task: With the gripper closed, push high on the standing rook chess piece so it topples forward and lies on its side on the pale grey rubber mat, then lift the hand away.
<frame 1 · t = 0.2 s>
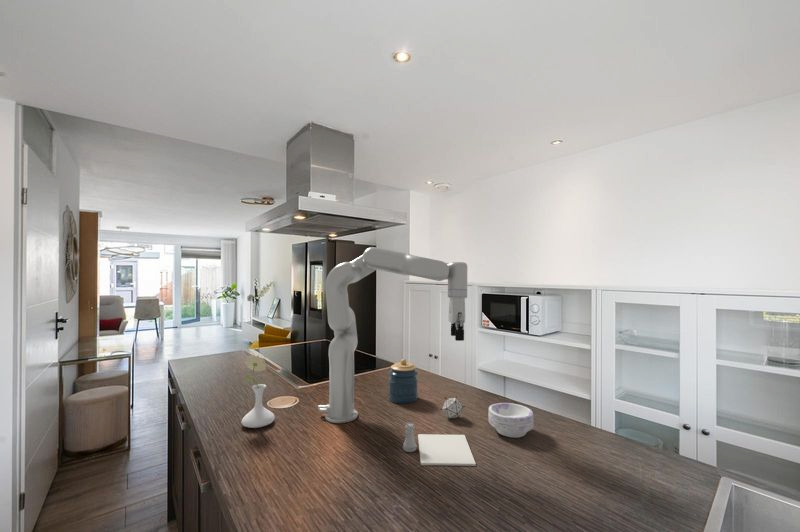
hand: (457, 338, 134), 31 cm above the countertop, tool pointing down, fingers open, 9 cm apart
rook chess piece: (409, 449, 110), on the countertop
canister: (403, 399, 154), on the countertop
flower in vase: (256, 424, 127), on the countertop
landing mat: (444, 449, 110), on the countertop
game die: (452, 418, 133), on the countertop
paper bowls: (510, 432, 122), on the countertop
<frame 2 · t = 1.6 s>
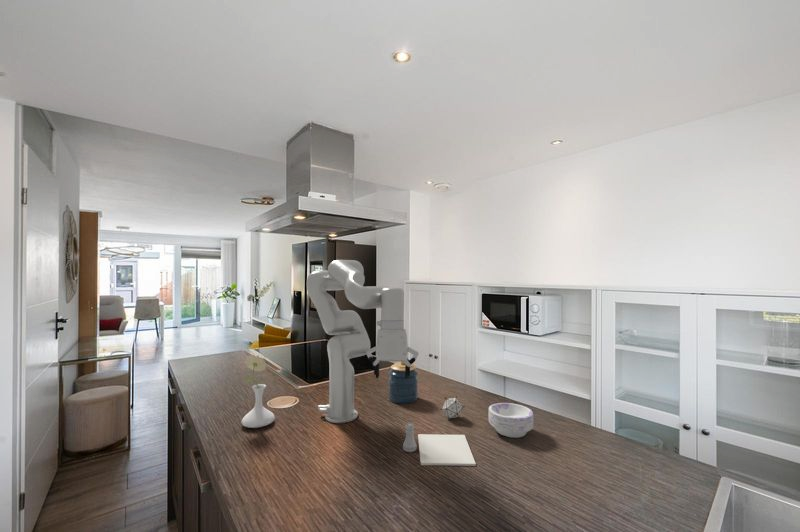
hand: (392, 377, 113), 22 cm above the countertop, tool pointing down, fingers open, 9 cm apart
nothing on the countertop moved.
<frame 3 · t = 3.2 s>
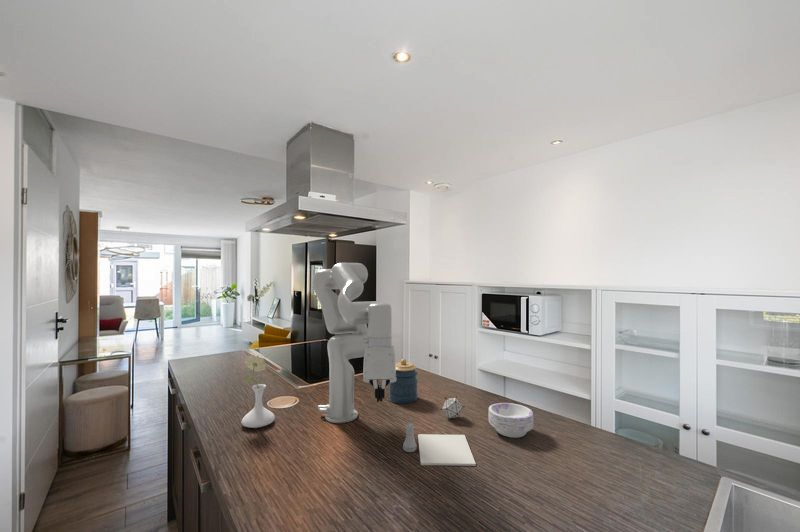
hand: (379, 400, 110), 15 cm above the countertop, tool pointing down, fingers closed
nothing on the countertop moved.
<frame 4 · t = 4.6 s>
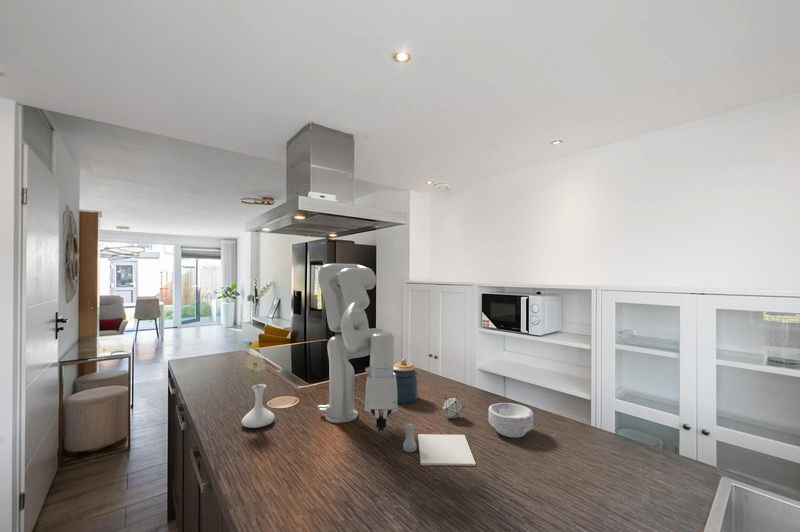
hand: (381, 429, 110), 6 cm above the countertop, tool pointing down, fingers closed
nothing on the countertop moved.
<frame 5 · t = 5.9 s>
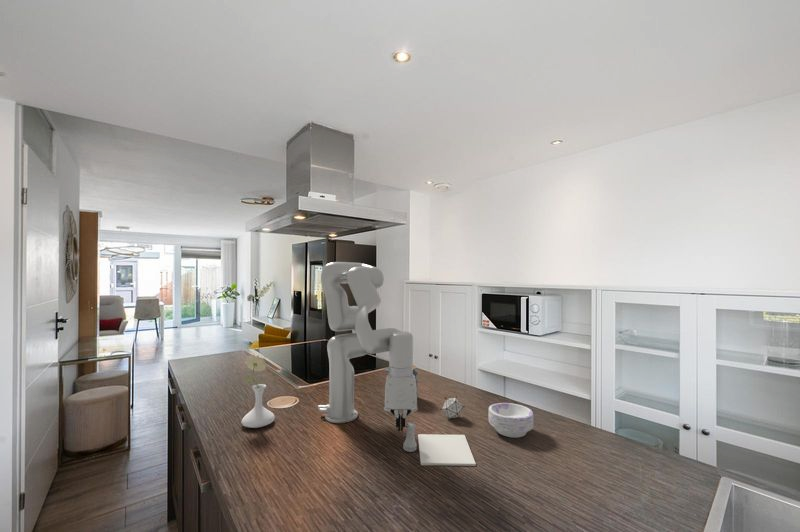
hand: (400, 429, 110), 6 cm above the countertop, tool pointing down, fingers closed
rook chess piece: (409, 449, 110), on the countertop, touching gripper
everything else where it was.
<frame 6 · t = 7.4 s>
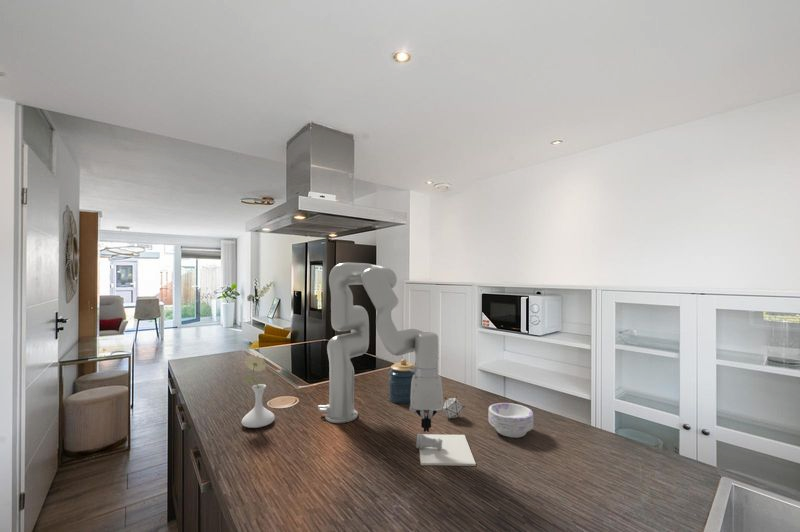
hand: (426, 429, 110), 6 cm above the countertop, tool pointing down, fingers closed
rook chess piece: (416, 440, 109), point 3 cm above the countertop, touching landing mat
everything else where it was.
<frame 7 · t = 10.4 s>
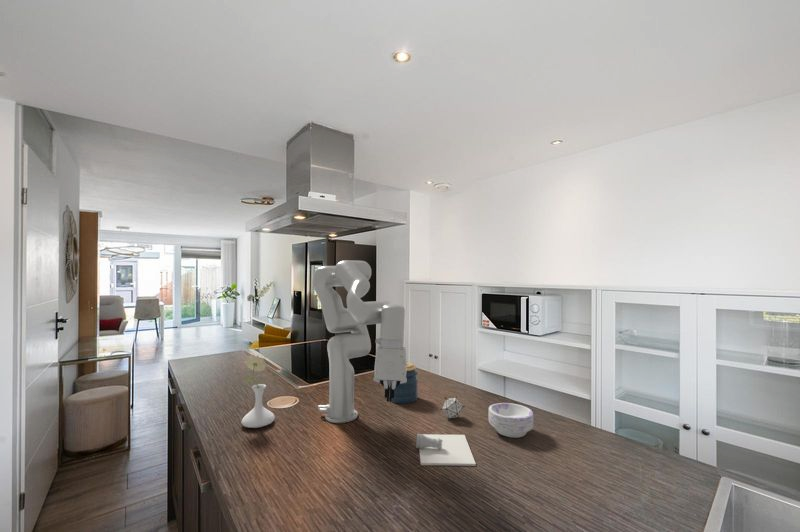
hand: (389, 399, 111), 15 cm above the countertop, tool pointing down, fingers closed
nothing on the countertop moved.
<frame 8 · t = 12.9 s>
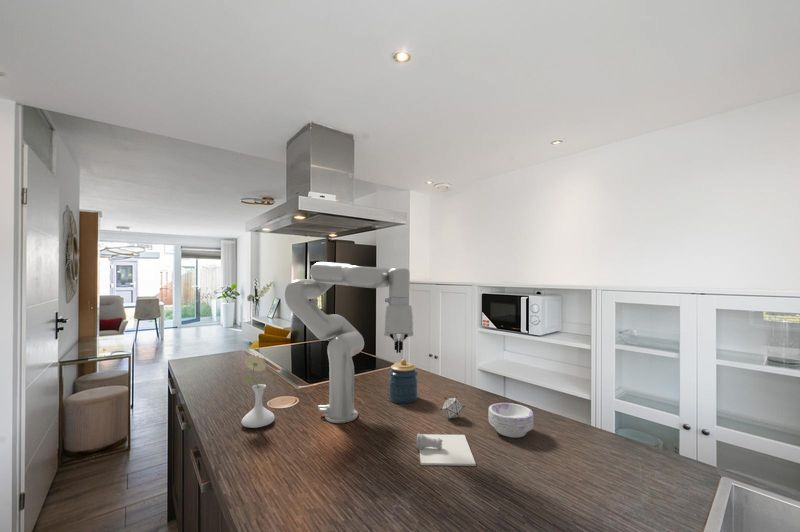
hand: (398, 351, 126), 27 cm above the countertop, tool pointing down, fingers closed
nothing on the countertop moved.
at the end: rook chess piece tilted 95°; rook chess piece inside the target area (1.0 cm from its centre), point 2.9 cm above the countertop; rook chess piece touching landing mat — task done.
